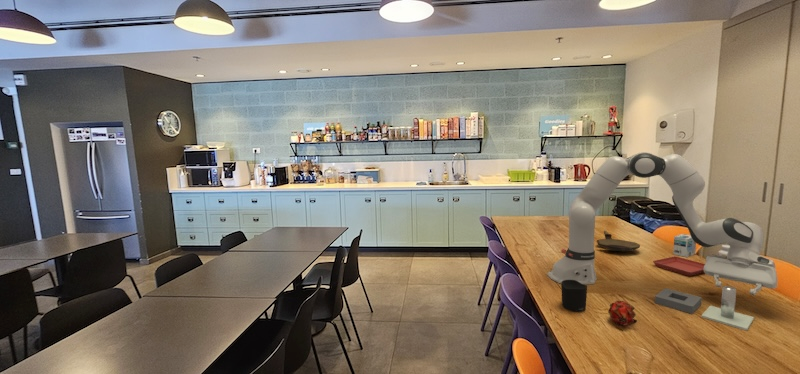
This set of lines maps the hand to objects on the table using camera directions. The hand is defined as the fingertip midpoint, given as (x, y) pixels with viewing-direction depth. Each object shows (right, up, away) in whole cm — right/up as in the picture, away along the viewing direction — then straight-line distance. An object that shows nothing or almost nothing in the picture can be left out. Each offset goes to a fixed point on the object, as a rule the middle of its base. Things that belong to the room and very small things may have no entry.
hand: (734, 290), depth 127 cm
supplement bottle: (+34, -3, +38) cm, 51 cm away
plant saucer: (+17, -3, +43) cm, 47 cm away
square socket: (-15, -8, +8) cm, 19 cm away
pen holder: (-57, -10, +10) cm, 59 cm away
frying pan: (+6, +1, +78) cm, 79 cm away
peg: (-7, -9, -4) cm, 11 cm away
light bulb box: (+36, 0, +64) cm, 73 cm away
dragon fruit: (-46, -11, -3) cm, 47 cm away
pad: (-7, -9, -4) cm, 12 cm away
